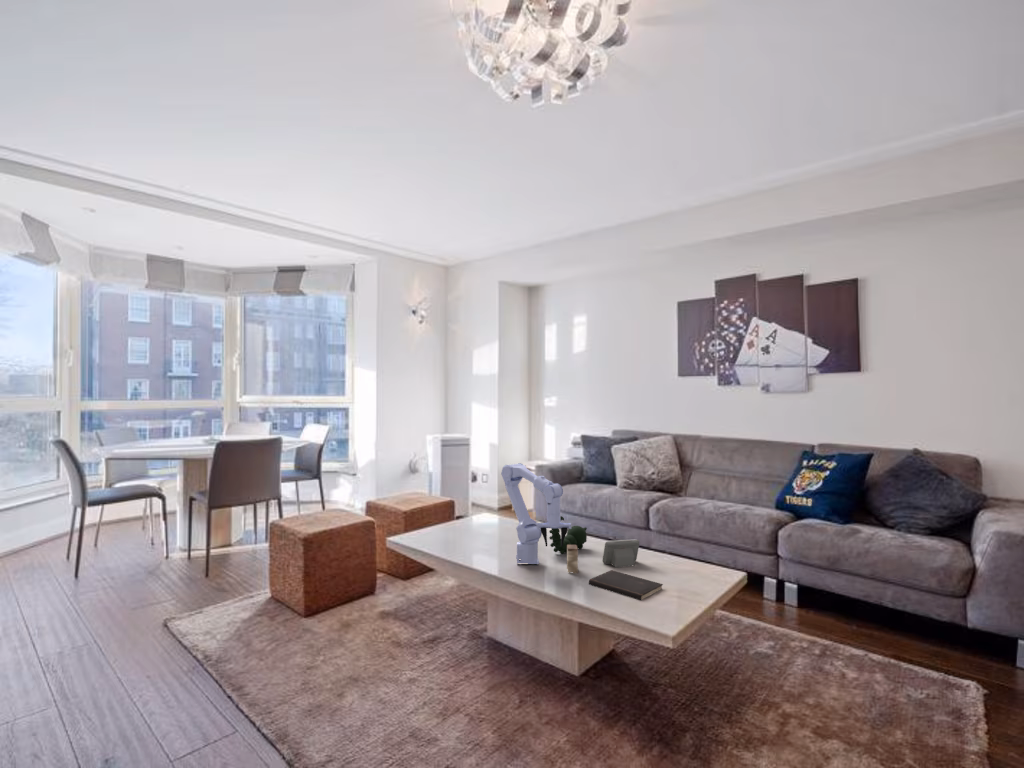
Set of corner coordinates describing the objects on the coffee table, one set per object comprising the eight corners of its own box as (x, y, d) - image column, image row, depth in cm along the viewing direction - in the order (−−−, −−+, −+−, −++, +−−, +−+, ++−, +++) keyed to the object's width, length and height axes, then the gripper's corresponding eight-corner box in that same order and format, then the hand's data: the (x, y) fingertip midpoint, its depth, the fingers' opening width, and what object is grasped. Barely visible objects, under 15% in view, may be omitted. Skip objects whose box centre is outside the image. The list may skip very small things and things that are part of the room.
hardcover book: (611, 575, 213) (611, 569, 213) (662, 590, 197) (662, 584, 197) (588, 585, 202) (588, 579, 202) (641, 601, 185) (641, 595, 186)
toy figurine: (561, 562, 233) (595, 546, 250) (559, 521, 232) (593, 507, 249) (546, 557, 239) (579, 542, 257) (543, 517, 239) (577, 504, 256)
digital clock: (636, 560, 231) (636, 536, 231) (642, 567, 222) (642, 542, 222) (600, 560, 230) (600, 536, 230) (604, 567, 221) (604, 542, 221)
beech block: (568, 573, 214) (568, 548, 214) (567, 568, 220) (567, 544, 220) (577, 573, 214) (577, 548, 214) (576, 568, 220) (576, 544, 220)
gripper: (536, 515, 214) (537, 548, 213) (571, 515, 213) (572, 548, 213) (536, 511, 221) (536, 543, 220) (570, 511, 220) (570, 543, 220)
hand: (554, 545), depth 217 cm, fingers open, 6 cm apart
